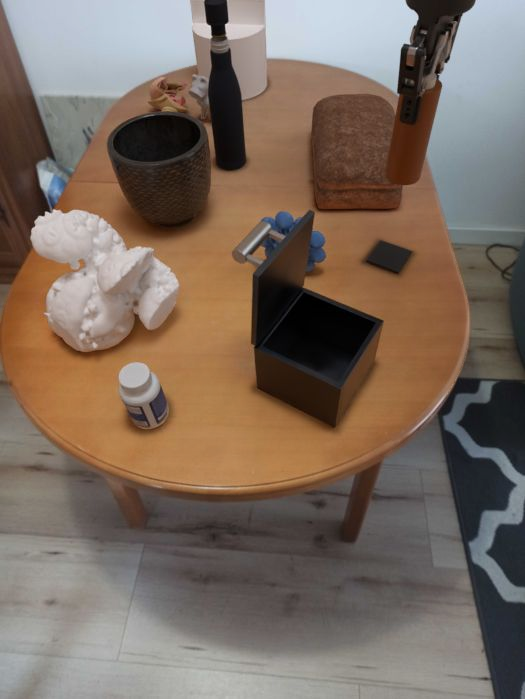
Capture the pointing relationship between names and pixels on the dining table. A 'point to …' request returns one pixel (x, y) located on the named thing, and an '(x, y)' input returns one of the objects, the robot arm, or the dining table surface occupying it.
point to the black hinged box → (317, 355)
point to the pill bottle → (142, 396)
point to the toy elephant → (166, 95)
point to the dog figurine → (200, 93)
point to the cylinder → (236, 43)
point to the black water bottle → (224, 92)
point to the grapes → (284, 226)
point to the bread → (353, 152)
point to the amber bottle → (412, 138)
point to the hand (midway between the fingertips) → (416, 112)
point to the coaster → (389, 256)
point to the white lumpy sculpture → (100, 281)
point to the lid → (275, 271)
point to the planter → (162, 166)
